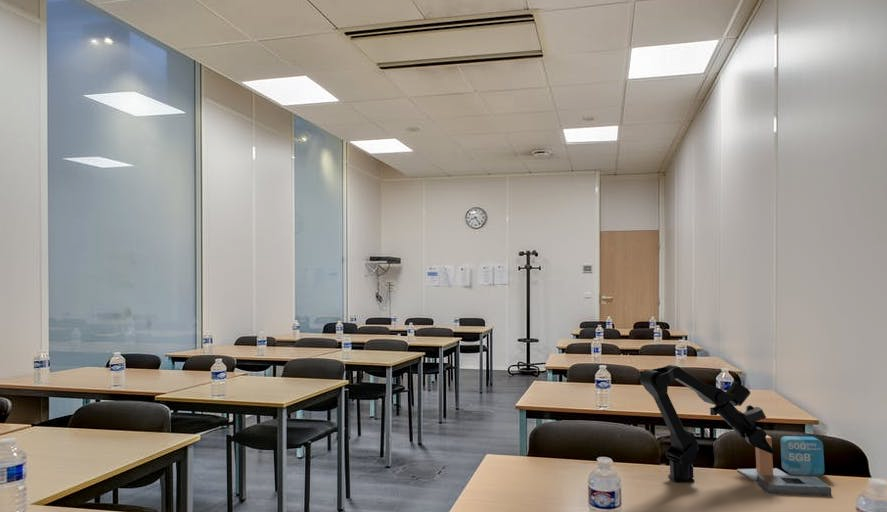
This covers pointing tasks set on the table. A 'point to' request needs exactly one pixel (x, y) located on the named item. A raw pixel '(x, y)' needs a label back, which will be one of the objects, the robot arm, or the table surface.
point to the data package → (802, 455)
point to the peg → (764, 460)
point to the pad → (753, 474)
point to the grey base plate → (793, 485)
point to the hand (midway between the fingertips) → (767, 448)
